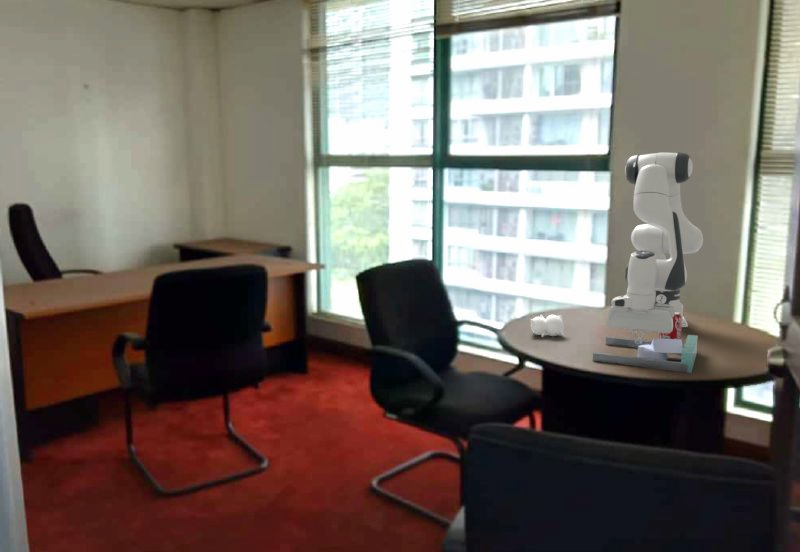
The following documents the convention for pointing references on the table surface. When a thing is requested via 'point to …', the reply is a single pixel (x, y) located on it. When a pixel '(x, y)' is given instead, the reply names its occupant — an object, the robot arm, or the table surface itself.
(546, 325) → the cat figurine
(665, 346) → the wedge on round base
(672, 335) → the soda can
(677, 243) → the robot arm
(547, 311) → the table surface
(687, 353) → the guide track
